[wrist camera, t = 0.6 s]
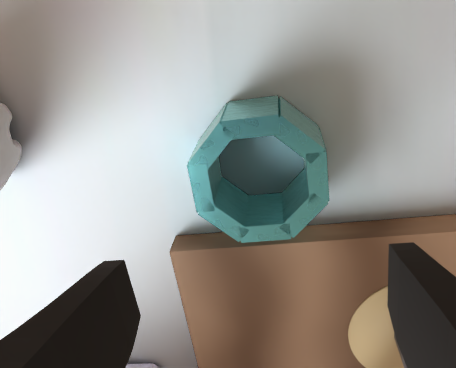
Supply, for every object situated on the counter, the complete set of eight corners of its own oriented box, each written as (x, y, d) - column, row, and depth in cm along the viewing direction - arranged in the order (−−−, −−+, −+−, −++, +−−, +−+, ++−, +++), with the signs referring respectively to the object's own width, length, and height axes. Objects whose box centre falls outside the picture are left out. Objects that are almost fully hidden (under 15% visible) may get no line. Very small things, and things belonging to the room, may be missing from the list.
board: (213, 392, 27) (202, 463, 23) (175, 235, 22) (154, 291, 18) (514, 386, 25) (561, 466, 21) (548, 206, 20) (619, 265, 16)
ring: (212, 212, 22) (203, 245, 19) (192, 106, 19) (178, 126, 17) (323, 203, 21) (331, 236, 18) (316, 90, 18) (324, 109, 16)
